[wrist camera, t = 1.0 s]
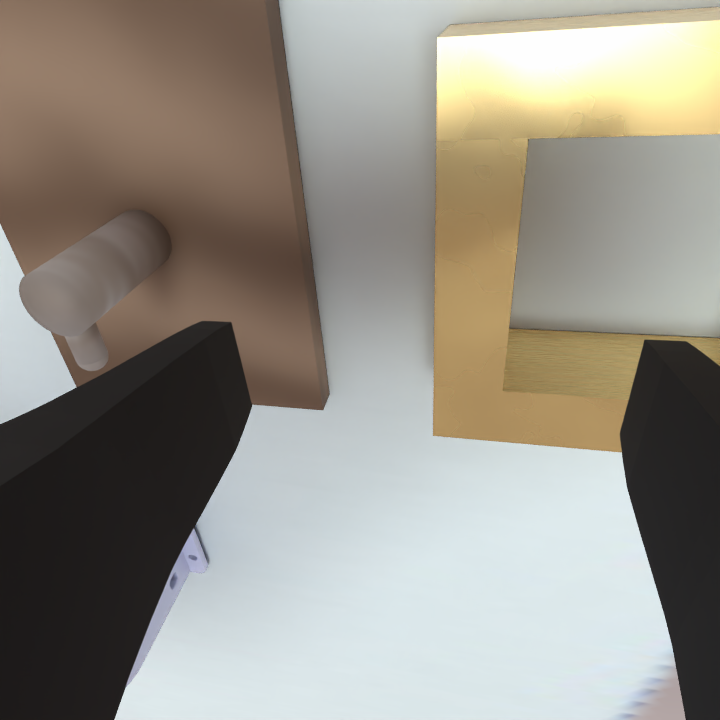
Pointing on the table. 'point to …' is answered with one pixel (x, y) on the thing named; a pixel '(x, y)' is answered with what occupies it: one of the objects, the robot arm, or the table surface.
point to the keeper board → (158, 184)
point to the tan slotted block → (504, 201)
